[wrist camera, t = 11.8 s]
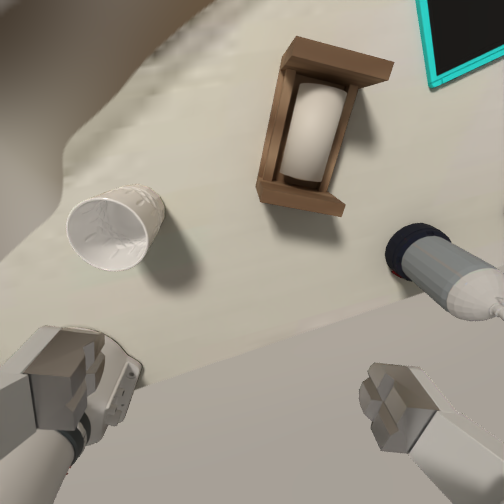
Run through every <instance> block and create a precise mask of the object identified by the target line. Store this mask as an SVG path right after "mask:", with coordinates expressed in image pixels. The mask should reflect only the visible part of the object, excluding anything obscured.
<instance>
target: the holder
mask: <svg viewBox="0 0 504 504" xmlns="http://www.w3.org/2000/svg"><path fill="white" fill-rule="evenodd" d="M393 65H394V62H392V61H388V60H385V59H381V58H377V57H374V56H370V55H366V54H362V53H359V52H355V51H351V50H347V49H344V48H340V47H336V46H332V45H329V44H325V43H321V42H317V41H314V40H310V39H306V38H302V37H299V36H296V37H295V38H294V40H293V41H292V43H291V44H290V46H289V47H288V49H287V50H286V52H285V53H284V55H283V56H282V60H281V65H280V70H279V75H278V80H277V84H276V89H275V94H274V99H273V104H272V109H271V114H270V119H269V124H268V129H267V133H266V138H265V143H264V148H263V153H262V158H261V163H260V168H259V173H258V178H257V183H256V189H257V193H258V196H259V199H260V202H263V203H268V204H274V205H279V206H284V207H290V208H295V209H301V210H306V211H311V212H317V213H322V214H327V215H333V216H338V217H342V214H343V211H344V208H345V204H344V203H343V202H341V201H340V200H339V199H337V198H336V197H335V196H333V195H332V194H330V193H329V192H328V191H327V189H328V186H329V183H330V179H331V176H332V173H333V170H334V166H335V163H336V160H337V157H338V153H339V150H340V147H341V144H342V140H343V137H344V134H345V131H346V127H347V124H348V121H349V118H350V114H351V111H352V108H353V105H354V101H355V98H356V95H357V92H358V89H360V88H364V87H367V86H370V85H374V84H377V83H381V82H384V81H387V80H389V77H390V74H391V71H392V68H393ZM301 83H314V84H322V85H327V86H331V87H334V88H338V89H341V90H343V91H345V92H346V93H347V96H346V100H345V103H344V106H343V110H342V113H341V117H340V120H339V123H338V127H337V130H336V134H335V137H334V140H333V144H332V147H331V151H330V154H329V157H328V161H327V164H326V168H325V171H324V174H323V178H322V181H321V182H314V181H305V180H299V179H296V178H293V177H291V176H287V175H285V174H282V173H280V168H281V163H282V159H283V155H284V150H285V146H286V142H287V137H288V133H289V129H290V124H291V120H292V116H293V111H294V107H295V103H296V98H297V94H298V90H299V85H300V84H301Z"/></svg>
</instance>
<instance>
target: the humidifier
mask: <svg viewBox="0 0 504 504" xmlns="http://www.w3.org/2000/svg"><path fill="white" fill-rule="evenodd" d="M385 258H386V262H387V264H388V265H389V267H390V268H391V269H392V273H393V274H395V275H396V276H398V277H400V278H404V279H406V280H408V281H413V282H414V283H415V284H416V285H418V286H419V287H420V288H421V289H422V290H423V291H424V292H425V293H427V294H428V295H429V296H430V297H431V298H433V300H434V301H436V302H437V303H438V304H439V305H440V306H441V307H442V308H443V309H445V310H446V311H448V312H449V313H451V314H452V315H453V316H455V317H457V318H459V319H463V320H467V321H483V320H487V319H490V318H493V317H496V316H497V317H500V318H501V319H502V320H503V321H504V273H502V272H501V271H499V270H498V269H497V268H495V267H494V266H492V265H491V264H489V263H487V262H485V261H483V260H482V259H480V258H478V257H476V256H474V255H472V254H471V253H469V252H467V251H465V250H463V249H462V248H460V247H458V246H456V245H454V244H452V243H451V241H450V239H449V237H448V236H446V235H445V234H444V233H443V232H441V231H440V230H438V229H436V228H434V227H433V226H431V225H428V224H424V223H415V224H411V225H408V226H405V227H403V228H402V229H400V230H399V231H397V232H396V233H395V234H394V235H393V237H392V238H391V239H390V240H389V242H388V244H387V247H386V251H385Z"/></svg>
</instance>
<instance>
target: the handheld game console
mask: <svg viewBox="0 0 504 504" xmlns="http://www.w3.org/2000/svg"><path fill="white" fill-rule="evenodd" d="M415 1H416V8H417V14H418V21H419V27H420V34H421V41H422V47H423V54H424V61H425V67H426V74H427V81H428V86H429V87H430V88H434V87H437V86H439V85H441V84H444V83H446V82H448V81H450V80H452V79H455V78H457V77H458V76H461V75H463V74H465V73H467V72H469V71H471V70H473V69H475V68H478V67H480V66H482V65H484V64H486V63H488V62H490V61H492V60H495V59H497V58H499V57H501V56H503V55H504V0H415Z"/></svg>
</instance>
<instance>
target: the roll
mask: <svg viewBox="0 0 504 504" xmlns="http://www.w3.org/2000/svg"><path fill="white" fill-rule="evenodd" d="M346 96H347V93H346V92H345V91H343V90H341V89H338V88H334V87H331V86H327V85H322V84H314V83H301V84H300V85H299V90H298V94H297V98H296V103H295V107H294V111H293V116H292V120H291V124H290V129H289V133H288V137H287V142H286V146H285V150H284V155H283V159H282V163H281V168H280V173H282V174H285V175H287V176H291V177H293V178H296V179H299V180H305V181H314V182H321V181H322V178H323V174H324V171H325V168H326V164H327V161H328V157H329V154H330V151H331V147H332V144H333V140H334V137H335V134H336V130H337V127H338V123H339V120H340V117H341V113H342V110H343V106H344V103H345V100H346Z"/></svg>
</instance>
